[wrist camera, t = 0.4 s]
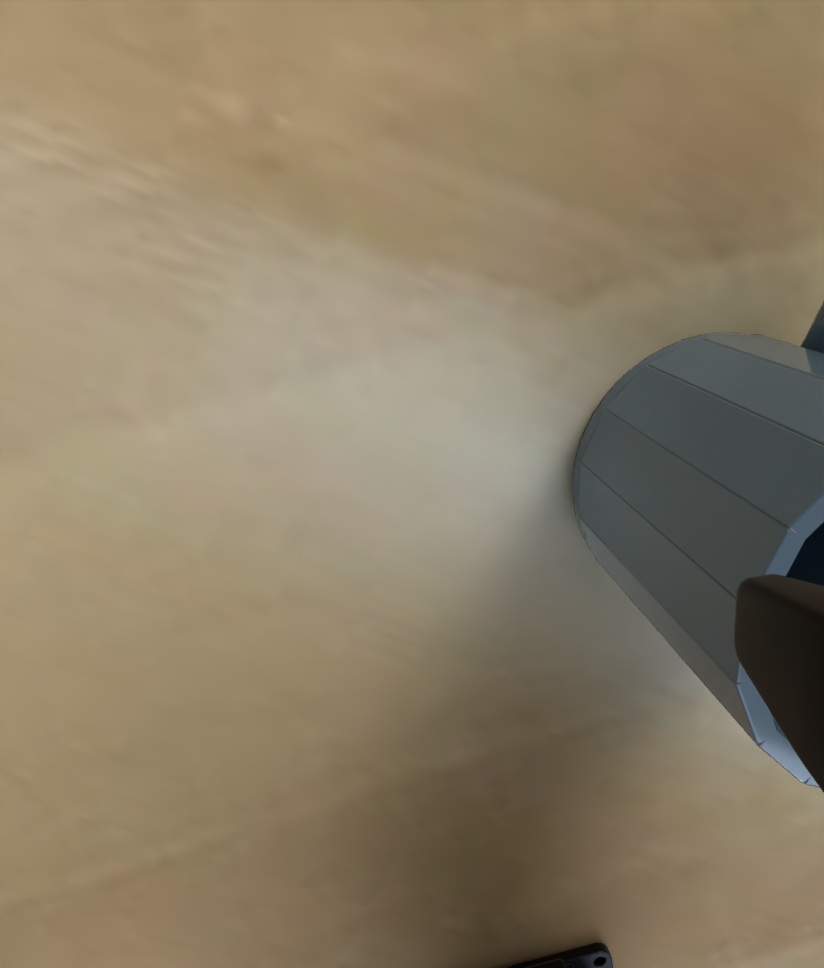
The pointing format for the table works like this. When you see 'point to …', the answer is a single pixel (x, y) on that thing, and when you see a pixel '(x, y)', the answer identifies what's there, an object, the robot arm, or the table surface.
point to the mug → (710, 496)
